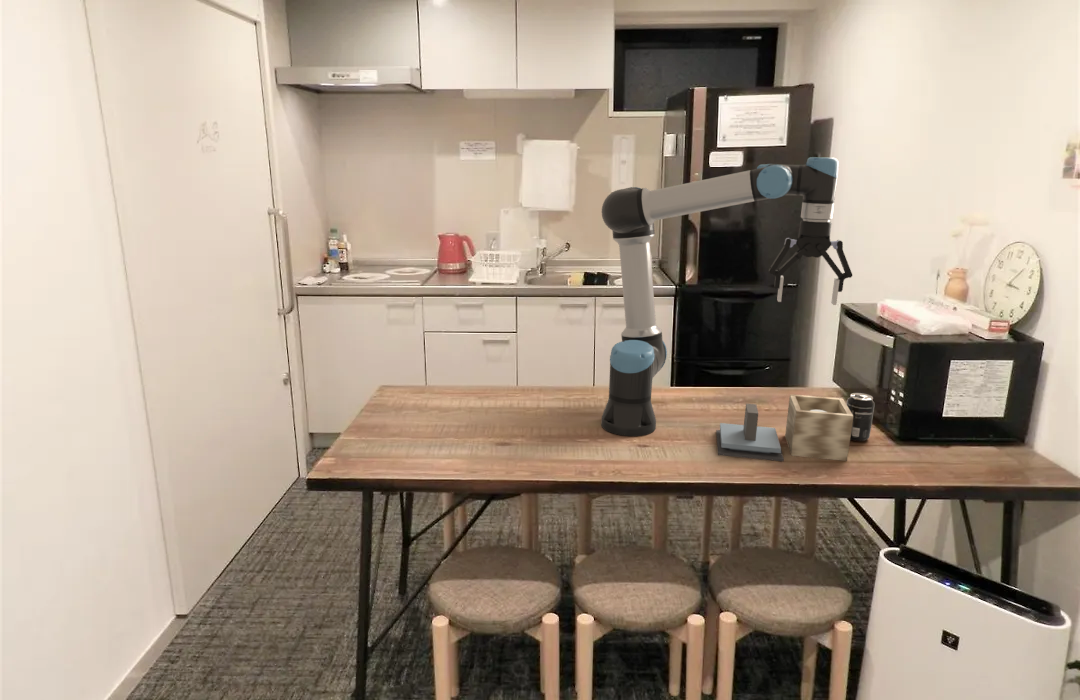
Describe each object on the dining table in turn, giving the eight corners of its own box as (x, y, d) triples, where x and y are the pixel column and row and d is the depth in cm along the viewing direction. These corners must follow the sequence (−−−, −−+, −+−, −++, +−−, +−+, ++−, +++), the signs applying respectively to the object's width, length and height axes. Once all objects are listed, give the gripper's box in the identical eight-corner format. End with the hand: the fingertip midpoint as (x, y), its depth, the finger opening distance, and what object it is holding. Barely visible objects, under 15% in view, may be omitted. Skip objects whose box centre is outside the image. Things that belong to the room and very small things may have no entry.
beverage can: (845, 431, 198) (851, 390, 195) (871, 437, 195) (877, 395, 191) (839, 438, 193) (845, 397, 190) (866, 445, 189) (872, 402, 186)
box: (791, 455, 182) (796, 411, 179) (785, 435, 194) (789, 394, 191) (846, 460, 179) (853, 416, 176) (837, 440, 192) (842, 398, 189)
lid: (721, 451, 182) (724, 415, 179) (719, 431, 195) (722, 397, 193) (780, 457, 179) (784, 420, 176) (774, 436, 192) (778, 401, 190)
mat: (717, 454, 181) (718, 452, 181) (716, 431, 196) (716, 429, 196) (783, 461, 178) (783, 459, 178) (776, 437, 193) (777, 435, 193)
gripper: (766, 219, 180) (757, 302, 185) (872, 223, 175) (860, 308, 180) (763, 217, 187) (755, 296, 192) (865, 220, 182) (854, 302, 187)
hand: (806, 302), depth 186 cm, fingers open, 13 cm apart
